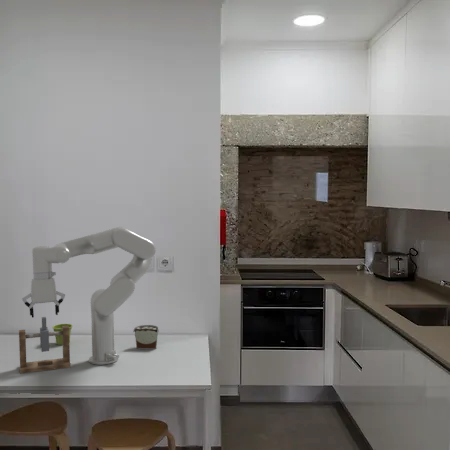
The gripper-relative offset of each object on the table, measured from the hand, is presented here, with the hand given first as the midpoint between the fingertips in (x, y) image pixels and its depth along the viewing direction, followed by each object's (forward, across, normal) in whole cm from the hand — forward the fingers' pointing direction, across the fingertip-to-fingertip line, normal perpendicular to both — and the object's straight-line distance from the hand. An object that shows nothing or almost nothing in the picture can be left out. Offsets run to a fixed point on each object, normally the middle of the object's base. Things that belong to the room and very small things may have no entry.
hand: (44, 315), depth 226 cm
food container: (+23, -46, -12) cm, 53 cm away
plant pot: (+23, -9, -33) cm, 41 cm away
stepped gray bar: (+14, +1, 0) cm, 14 cm away
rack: (+22, +1, 0) cm, 22 cm away
